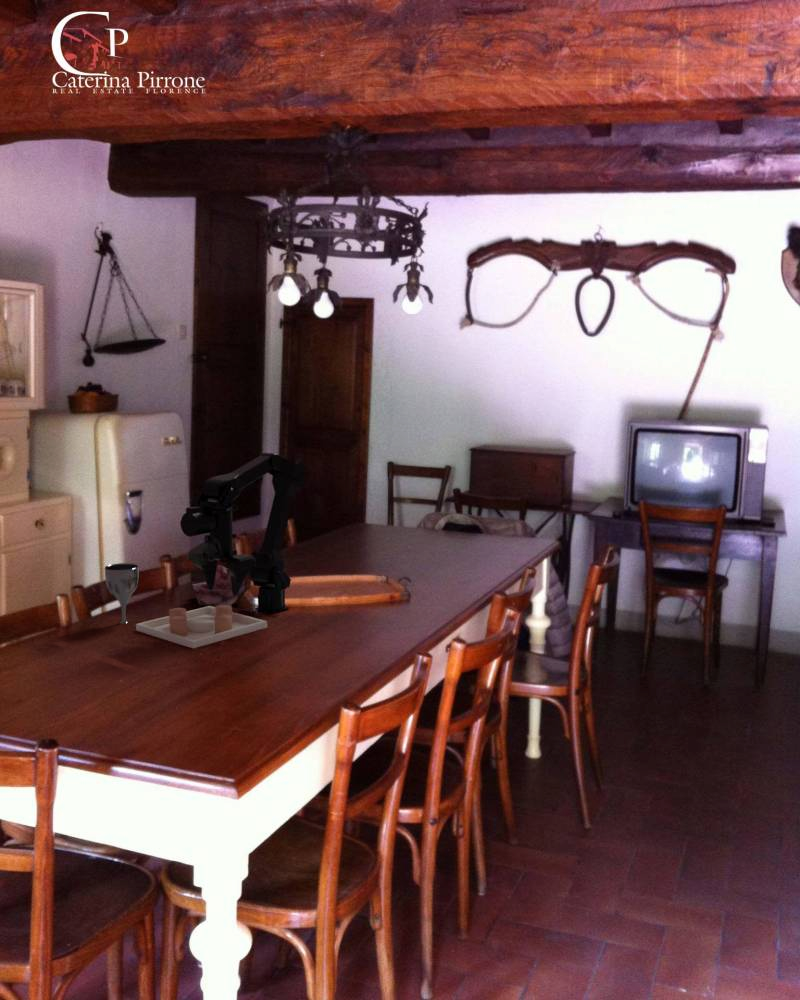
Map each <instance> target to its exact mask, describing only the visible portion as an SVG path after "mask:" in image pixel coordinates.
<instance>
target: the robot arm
mask: <svg viewBox="0 0 800 1000" xmlns="http://www.w3.org/2000/svg"><path fill="white" fill-rule="evenodd" d="M267 474H268V475H270V476H272V477H271V478H272V479H271V484H272V486H273V491H274V497H273V501H272V504H271V508H270V512H269V516H268V521H267V524H266V529H265V533H264V537H263V542H262V545H261V547H260V548H259V549H258V551H254V550H253V551H252V553H251V554H245V553H240V554H238V550H237V549H234V539H235V538H237V533H235V532H234V531H233V512H234V511H237V510H239V506H238V505H237V504H235V503H234V500H235V499H237V498H238V497H239V496H240V495H241V492H242V490H243V489H244V488H245V487H246V486H248V485H250V484H252V483H253V482H255V481H256V480H258V479H260V478H261V477H263V476H265V475H267ZM306 478H307V470H306V468H305V466H304V464H302V463H301V462H294V461H293V460H290V459H288V458H284V457H282V456H281V455H279V454H277V453H275V452H262V453H260V454H259V455H258V456H257V457H255V458H253V459H252V460H250V461H248V462H247V463H244V465H242V466H240V467H238V468H236V469H235V470H233V471H232V472H228V473H225V474H220V475H216V476H212V477H210V478H208V479H206V480H205V481H204V483H203V487H202V489H201V491H200V493H199V494H198V495H199V496H198V497H197V500H196V501H195V504H194V507H192V506H190V507H189V506H188V507H186V508H185V513H184V514H183V515H182V517H181V520H180V521H179V523H180V529H181V531H182V533H183V534H184V535H186V536H187V537H190V538H191V537H194V536H199V535H204V541H203V542H202V543H199V544H198V545H196V546H194V547H193V548H191V549H190V550H189V551H188V561H190V562H192V563H191V564H193V565H194V566H196V567H197V568H199V569H200V571H201V573H202V576H204V577H203V579H205V580H204V582H205V581H206V584H207V586H208V589H209V590H212V589H213V587H214V582H215V576H216V569H217V564H218V562H220V563H225V564H226V568H228V569H229V570H226V571H227V572H228V573H229V574H230V576H231V585H232V593H233V596H236V595H237V594H238V592H239V590H240V588H241V585H242V583H243V581H245V580H246V577H247V575H248V573H249V576H250V578H251V581H252V584H253V586H254V587H258V594H257V606H256V607H255V608H254V610H256V611H260V612H264V613H267V614H275V613H279V612H282V611H283V612H284V611H286V610H289V609H290V607H289V606H287V605H286V593H285V590H287V589H288V588H290V585H291V581H292V578H291V577H290V576H289V575H288V574H287V573H286V572H285V570H284V568H285V567H284V566H285V561H284V557H283V553H282V548H283V544H284V538H285V535H286V531H287V527H288V522H289V519H290V513H291V510H292V507H293V504H294V503H293V502H294V498H295V496H297V495H298V493H300V491H301V490H302V489H303V486H304V485H305V480H306ZM238 595H239V594H238ZM238 595H237V596H238Z"/></svg>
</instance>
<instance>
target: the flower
mask: <svg viewBox="0 0 800 1000" xmlns="http://www.w3.org/2000/svg"><path fill="white" fill-rule="evenodd" d="M226 570H229V569H228V567H225V566H224V565H221V564H218V563H217V569H216V576H215V582H214V587H213V589H212V590H209V589H208V586H207V584H206V581H205V579H204V576H203V575H202V576H203V579H204V581H203V582H198V583H192V584H191V585H192V587H193V590H194V591H196V592H197V593H195V594H194V595H195V597H196V600H197V603H198V605H199V606H212V607H216V606H219V605H230V606H232V605H233V604H234V603H236V602H237V600H238V602H237V603H239V602H240V600H241V598H242V596H243V595H244V594H245V593H246V592H247V591H248V590H249V589H250V588H251V581H250V579H249V578H245V579H244V581H243V583H242V585H241V588H240V590H239V592H238V594H237V595H236V596H233V593H232V585H231V576H230V574H229V573H228V572H227V571H226ZM238 595H239V596H238Z"/></svg>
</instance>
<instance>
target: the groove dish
mask: <svg viewBox="0 0 800 1000" xmlns="http://www.w3.org/2000/svg"><path fill="white" fill-rule="evenodd" d="M215 607H216V606H213V605H206V606H204V607H199V608H196V609H191V610H188V611H187V610H186V617H187V631H188V635H187V636H184V637H183V636H179V635H176V634H173V633H170V622H169V615H168V616H167V615H166V616H163V617H159V618H154V619H150V620H147V621H143V622H138V623H136V624H135V630H136V631H137V632H140V633H143V634H147V635H149V636H152V637H156V638H159V639H162V640H165V641H169V642H172V643H175V644H178V645H181V646H184V647H188V648H191V649H196V648H199V647H204V646H207V645H210V644H211V645H212V644H215V643H217V642H221V641H225V640H228V639H232V638H235V637H238V636H243V635H246V634H249V633H253V632H257V631H259V630H264V629H267V628H268V620H264V619H260V618H257V617H253V616H249V615H245V614H241V613H238V612H235V611H234V612H233V611H232V630H228V631H225V632H221V633H217V634H215V621H214V616H216V615H215Z"/></svg>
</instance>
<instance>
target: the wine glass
mask: <svg viewBox="0 0 800 1000" xmlns="http://www.w3.org/2000/svg"><path fill="white" fill-rule="evenodd" d="M139 568H140V567H139V565H138V564H136V563H134V562H133V563H132V562H130V563H129V562H123V563H112V564H108V565H106V566H105V567H104V577H105V584H106V587H107V589H108V591H109V592H110V594H111V595H113V597H115V598H116V600H118V603H119V605H120V608H121V616H122V618H121V621H120V624H122V625H123V624H125V625H126V624H128V623H129V621H127V620H126V619H127V618H126V617H127V615H126V610H127V603H128V601H129V599H130V598H131V597H132V596H133V594H134V592H135V591H136V589H137V588H138V583H139V575H140V574H139V572H140V571H139Z"/></svg>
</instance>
